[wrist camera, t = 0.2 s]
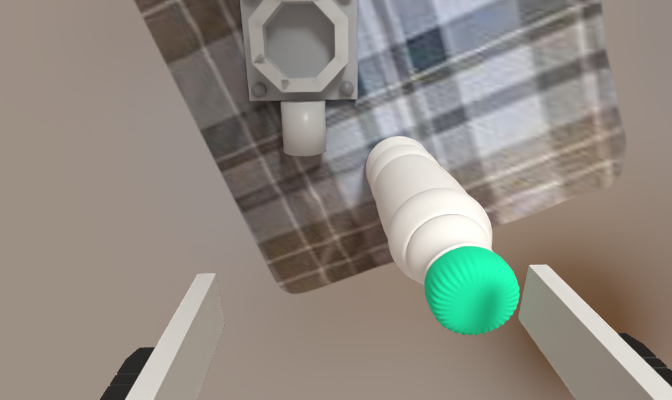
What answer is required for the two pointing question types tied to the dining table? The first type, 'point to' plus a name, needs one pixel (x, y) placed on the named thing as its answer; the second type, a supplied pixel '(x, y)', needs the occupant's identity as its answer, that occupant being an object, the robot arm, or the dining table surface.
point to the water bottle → (440, 238)
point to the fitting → (301, 62)
